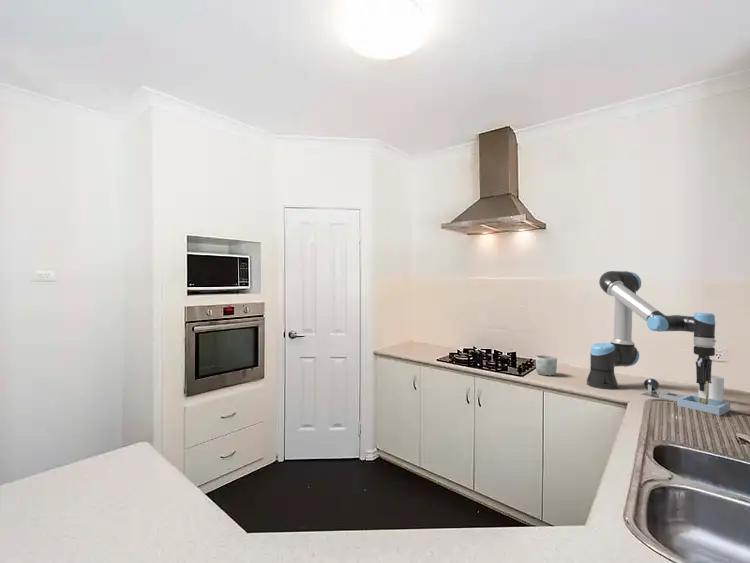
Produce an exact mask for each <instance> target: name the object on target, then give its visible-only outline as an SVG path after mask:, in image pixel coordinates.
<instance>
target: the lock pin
mask: <svg viewBox="0 0 750 563" xmlns="http://www.w3.org/2000/svg"><path fill="white" fill-rule="evenodd" d="M706 384H707V385H706V399H705V398H700V403H702V404H707V405H708V381H706Z"/></svg>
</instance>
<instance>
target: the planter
mask: <svg viewBox="0 0 750 563" xmlns="http://www.w3.org/2000/svg"><path fill="white" fill-rule="evenodd" d="M557 366H558V358H557V357H556V356H551V355H536V356H535V370H536V373H537V374H539V375H540V374H541V376H545V375H549V377H550V376H551V375H553V376H555V375H556V373H557V368H558V367H557ZM551 377H552V376H551Z"/></svg>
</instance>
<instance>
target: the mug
mask: <svg viewBox="0 0 750 563" xmlns="http://www.w3.org/2000/svg"><path fill="white" fill-rule="evenodd" d="M711 382H712V383H709V398H710V399H715V400H720V401H724V391H725V390H724V389H725V377H722V376H720V375H712V374H711Z"/></svg>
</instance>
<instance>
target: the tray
mask: <svg viewBox="0 0 750 563" xmlns="http://www.w3.org/2000/svg"><path fill="white" fill-rule="evenodd" d="M676 406H677V407H682V408H687V409H691V410H695V411H701V412H705V413H710V414H714V416H717V417H720V416H723V415H724V414H726V413H728V412H730V411H731V402H730V401H724V400H723V401H720V400H715V399H710V398H708V405H707V404H702V403H700V397H698V395H694V394H686V396H684V397H681V398H679V399H677V402H676ZM729 410H730V411H729Z"/></svg>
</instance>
